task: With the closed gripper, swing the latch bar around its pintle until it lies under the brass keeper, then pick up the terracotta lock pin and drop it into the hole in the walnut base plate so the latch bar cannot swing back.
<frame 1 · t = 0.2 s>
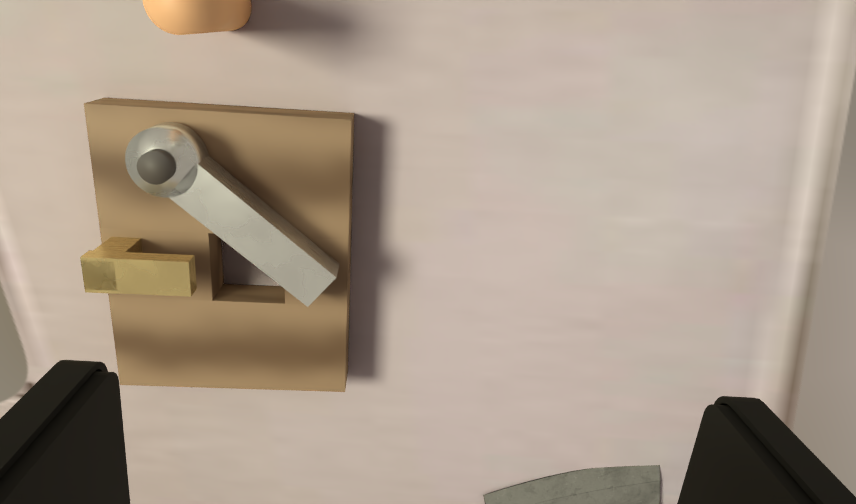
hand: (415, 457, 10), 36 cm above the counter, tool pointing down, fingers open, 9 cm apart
lock pin: (226, 4, 40), on the counter
base plate: (237, 247, 46), on the counter
latch bar: (236, 214, 41), point 4 cm above the counter, hinge at 0.0°
keeper: (144, 236, 46), resting on base plate
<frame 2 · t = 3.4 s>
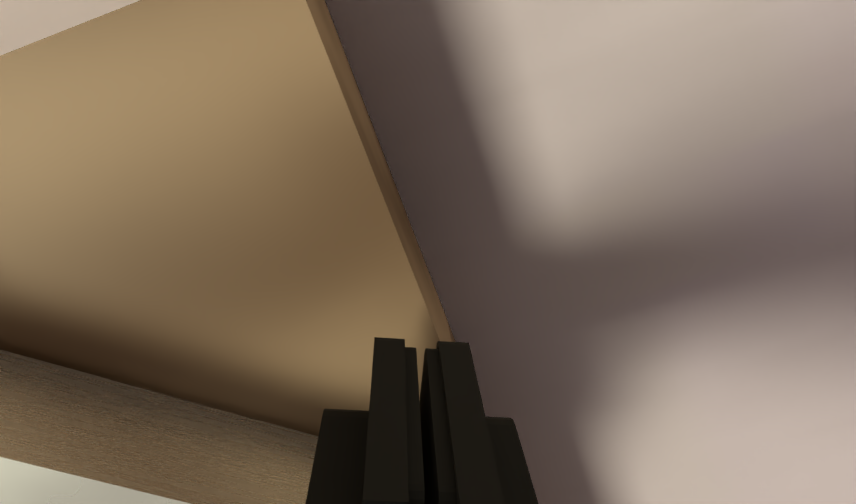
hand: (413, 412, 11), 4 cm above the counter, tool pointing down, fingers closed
base plate: (170, 490, 16), on the counter
latch bar: (32, 478, 11), point 4 cm above the counter, hinge at 0.0°, touching gripper
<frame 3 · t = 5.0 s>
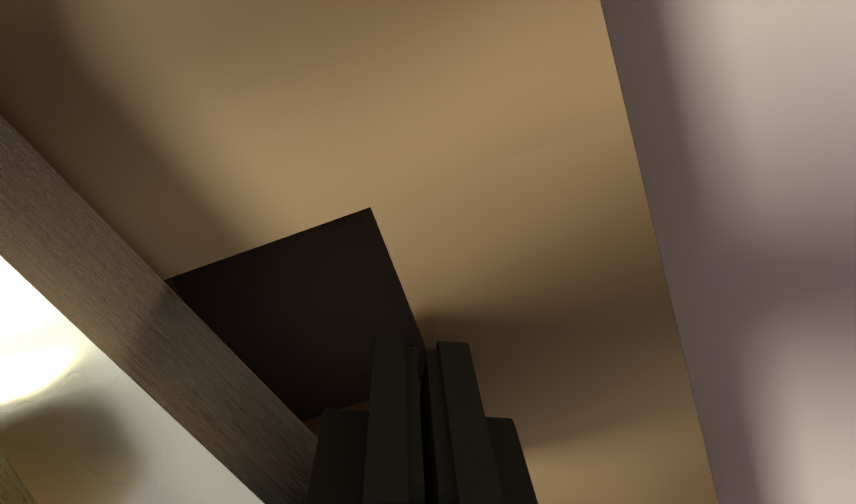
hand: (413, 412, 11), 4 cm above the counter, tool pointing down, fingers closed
base plate: (246, 314, 14), on the counter
latch bar: (29, 332, 9), point 4 cm above the counter, hinge at -32.5°, touching gripper
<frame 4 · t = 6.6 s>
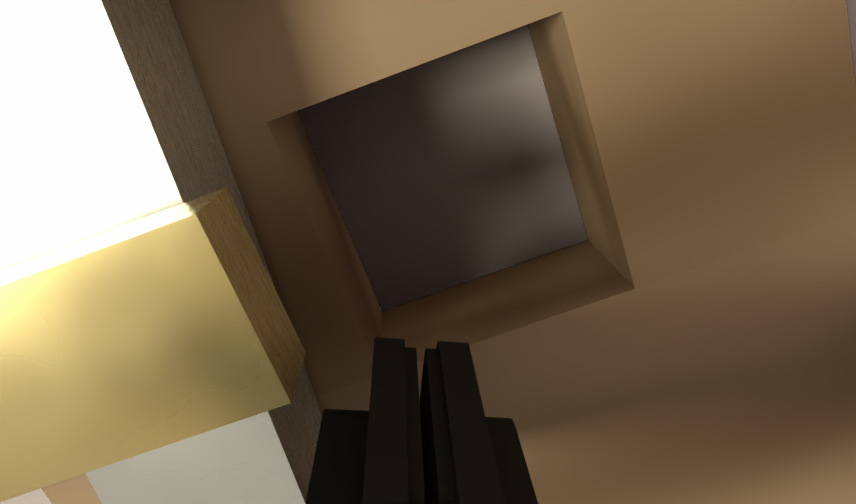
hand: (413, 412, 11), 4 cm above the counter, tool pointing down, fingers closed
base plate: (382, 176, 14), on the counter
latch bar: (104, 185, 9), point 4 cm above the counter, hinge at -55.2°
keeper: (96, 257, 14), resting on base plate
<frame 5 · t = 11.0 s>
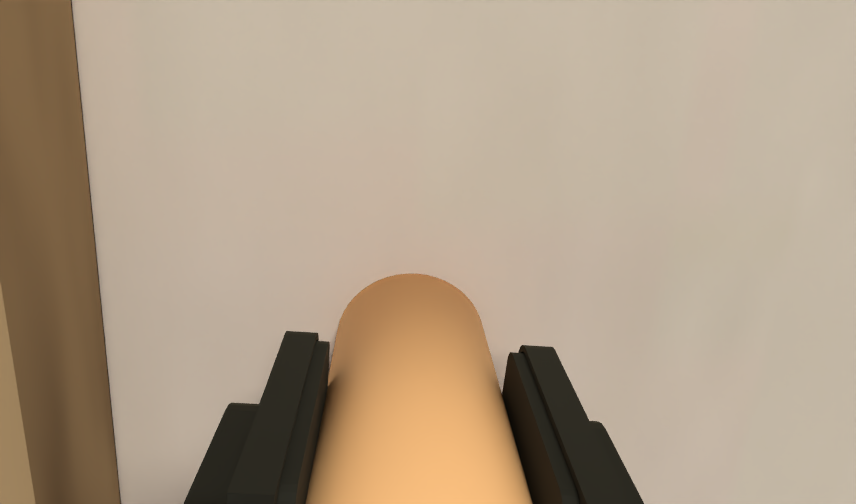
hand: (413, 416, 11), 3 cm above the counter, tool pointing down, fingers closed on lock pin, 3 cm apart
lock pin: (410, 341, 13), on the counter, touching gripper
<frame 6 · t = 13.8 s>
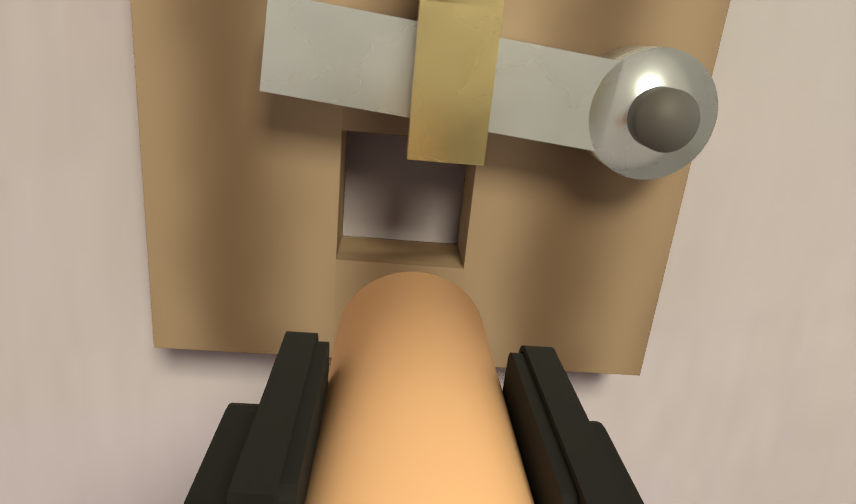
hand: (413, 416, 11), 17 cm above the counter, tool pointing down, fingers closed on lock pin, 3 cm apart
lock pin: (410, 339, 13), point 14 cm above the counter, touching gripper
base plate: (418, 153, 26), on the counter
latch bar: (492, 83, 21), point 4 cm above the counter, hinge at -55.1°
when the fingers open (4 cm above the counter, at t = 16.4 s): lock pin drops 1 cm, resting in base plate.
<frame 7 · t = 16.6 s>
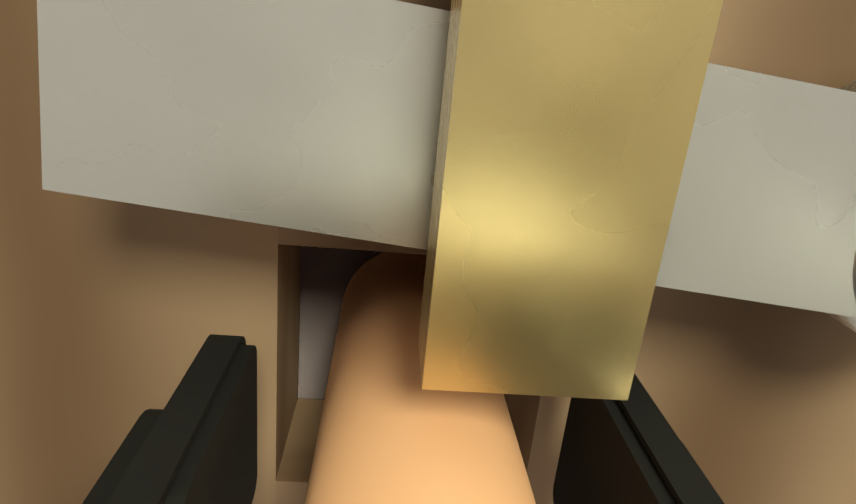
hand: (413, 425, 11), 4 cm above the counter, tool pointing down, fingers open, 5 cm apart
lock pin: (409, 309, 15), resting in base plate
base plate: (435, 259, 14), on the counter
latch bar: (615, 157, 9), point 4 cm above the counter, hinge at -55.1°
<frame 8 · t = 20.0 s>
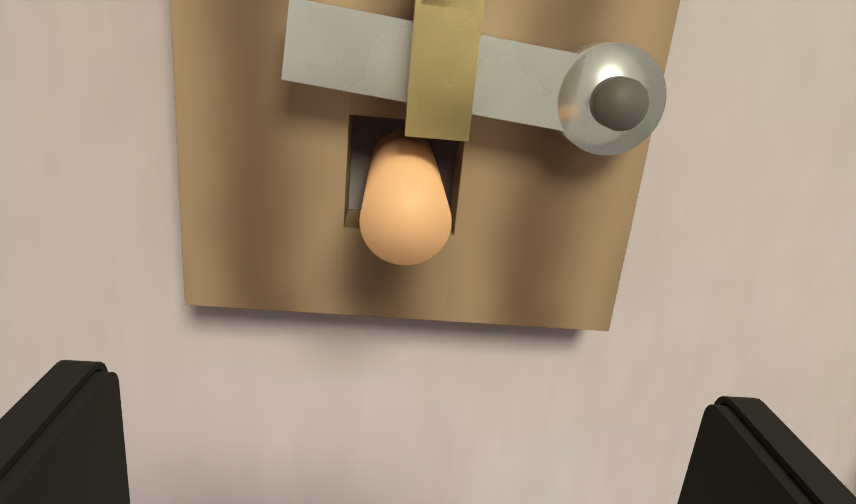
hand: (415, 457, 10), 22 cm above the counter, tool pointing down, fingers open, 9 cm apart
lock pin: (403, 162, 31), resting in base plate
base plate: (415, 136, 30), on the counter
latch bar: (477, 73, 25), point 4 cm above the counter, hinge at -55.1°
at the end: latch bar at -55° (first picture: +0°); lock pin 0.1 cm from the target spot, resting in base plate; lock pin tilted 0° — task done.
